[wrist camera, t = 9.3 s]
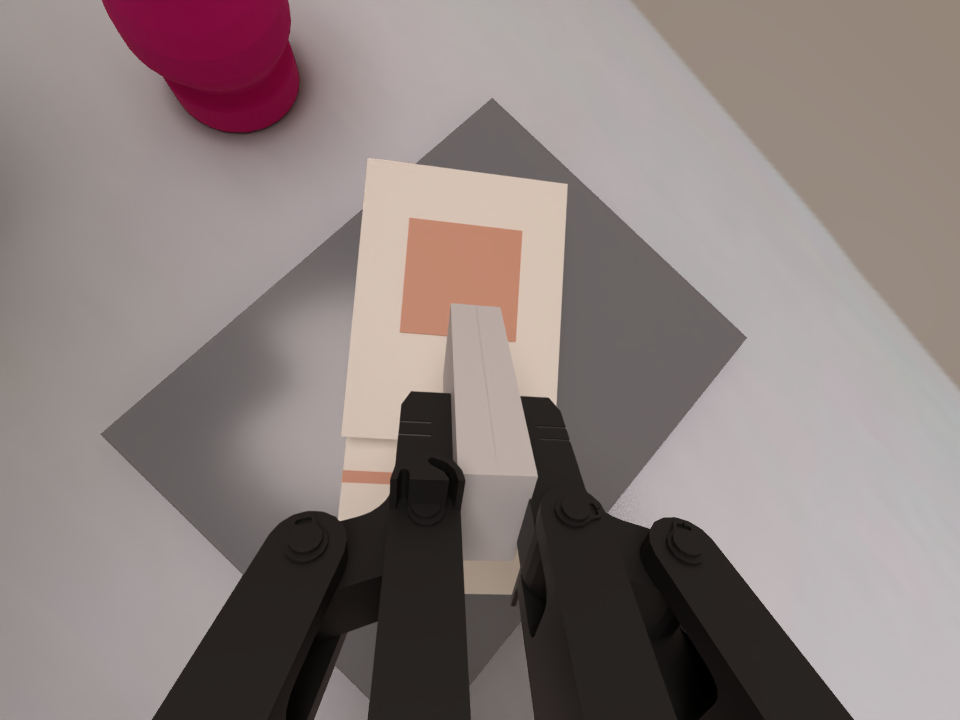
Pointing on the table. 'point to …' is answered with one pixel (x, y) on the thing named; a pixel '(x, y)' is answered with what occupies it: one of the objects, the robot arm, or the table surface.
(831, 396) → the table surface
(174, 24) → the pepper mill
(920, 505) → the table surface
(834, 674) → the table surface
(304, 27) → the table surface
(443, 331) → the cream flat block
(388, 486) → the base
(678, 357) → the slate board
